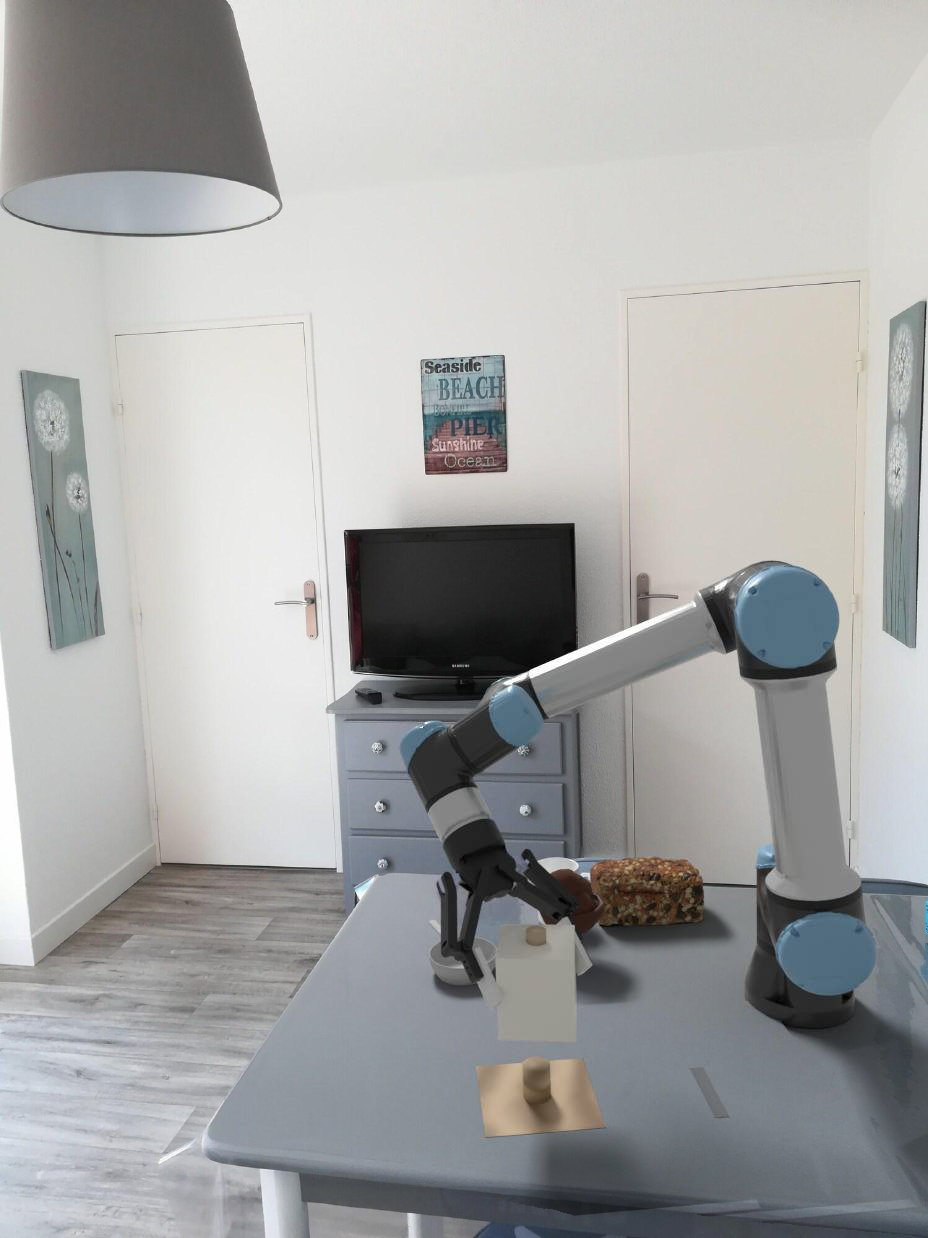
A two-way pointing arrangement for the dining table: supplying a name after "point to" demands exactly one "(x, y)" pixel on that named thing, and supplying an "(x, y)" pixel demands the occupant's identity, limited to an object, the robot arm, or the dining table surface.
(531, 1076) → the cork
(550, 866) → the white cup
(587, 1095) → the board
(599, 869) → the bread
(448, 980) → the saucepan
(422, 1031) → the dining table surface
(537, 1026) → the knobbed white box
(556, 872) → the ice cream bowl
